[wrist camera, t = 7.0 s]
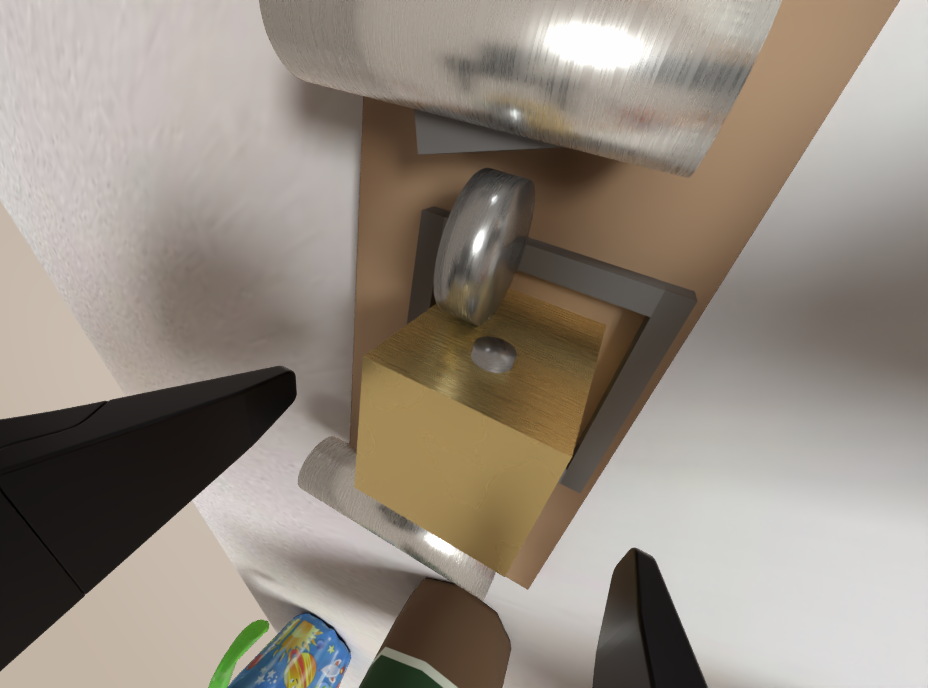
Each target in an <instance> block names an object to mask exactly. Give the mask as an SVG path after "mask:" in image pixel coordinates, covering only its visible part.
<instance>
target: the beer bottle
mask: <svg viewBox="0 0 928 688" xmlns="http://www.w3.org/2000/svg"><path fill="white" fill-rule="evenodd" d="M510 652H511V644H510V639H509V637H508V635H507V633H506V631H505V629H504V627H503V624H502V622H501V620H500V618H499V616H498V614H497V612H495V611H494V610H493V609H491V608H490V607H489V606H487V605H486V604H485V603H483V602H482V601H481V600H479V599H478V598H477V597H475V596H474V595H472V594H471V593H469V592H468V591H466V590H464V589H463V588H461V587H459V586H458V585H456V584H451V583H447V582H443V581H438V580H434V579H429V578H426V579H425V580H423V581H422V582H421V583H420V585H419V586H418V587H417V588H416V590H415V591H414V592H413V593H412V594H411V596H410V597H409V599H408V601H407V602H406V604H405V605H404V607H403V609H402V610H401V612H400V614H399V615H398V617H397V619H396V620H395V622H394V624H393V626H392V628H391V629H390V631H389V633H388V635H387V637H386V639H385V640H384V642H383V644H382V646H381V648H380V650H379V651H378V653H377V655H376V657H375V659H374V661H373V662H372V664H371V666H370V668H369V670H368V672H367V673H366V675H365V677H364V679H363V681H362V683H361V684H360V686H359V688H502V686H503V683H504V678H505V674H506V670H507V665H508V661H509V656H510Z"/></svg>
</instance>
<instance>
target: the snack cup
mask: <svg viewBox="0 0 928 688" xmlns="http://www.w3.org/2000/svg"><path fill="white" fill-rule="evenodd" d="M268 629H269V623H268V621H264V620H257V621H255V622H252V623H251V624H250V625H249V626H247V627H246V628H245V629H244V630H243V631H242V632H241V633H240V634H239V635H238V637H237V638H236V639H235V641H234V642H233V644H232V645H231V646H230V648H229V650H228V651H227V652H226V654H225V655H224V657H223V659H222V660H221V662H220V664H219V666H218V667H217V670H216V672H215V673H214V675H213V677H212V679H211V682H210V685H209V687H208V688H339V686H340V683H341V680H342V678H343V676H344V673H345V672H346V670H347V667H348V665H349V662H350V659H351V654H350V652H349V651H348V649H347V647H346V646H345V644H344V643H343V642H342V641H341V640H340V639H339V638H338V637H337V635H336V633H335V631H334V630H333V629H330V628H329V627H328V626H327V625H326V624H325V623H324V622H323V621H322V620H320V619H318V618H317V617H315V616H312V615H310V614H300V615H298V616H296V617H295V618H293V619H292V620H291V621H290V622H289V623H288V624H287V625H286V626H285V627H284V628H283V630H282V631H281V632H280V633H278V634H277V635H276V636H275V637H274V638H273V639H272V641H270V643H268V644H267V646H266V647H265V648H264V649H263V650H262V651H261V652H260V653H259V654H258V655H257V656H256V657H255V658H254V659H253V660H252V661H251V662H250V663H249V664H248V665H247V666H246V668H245V669H243V670H242V671H241V672H240V673H239V674H238V676H237V677H236V678H235V679H234V680H233V681H232V682H231V684H230V685H229V686H228V684H229V681H230V678H231V676H232V673H233V670H234V667H235V664H236V662H237V660H238V659H239V658H240V657H241V656H242V655H243V654H244V653H245V652H246V651H247V650H248V649H249V648H250V647H251V646H252V645H253V644H254V643H255V642H256V641H257V640H258V639H259V638H260V637H261V636H262V635H263V634H264V633H265V632H267V630H268Z"/></svg>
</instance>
